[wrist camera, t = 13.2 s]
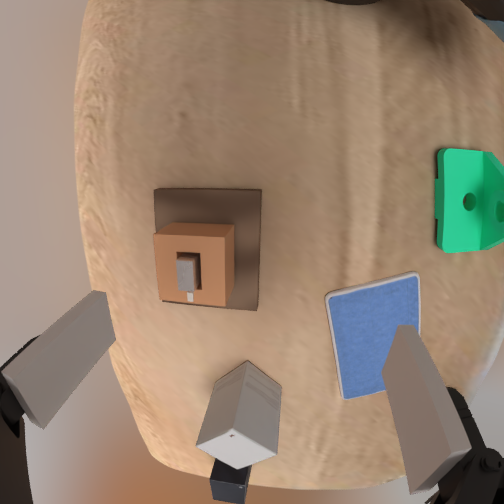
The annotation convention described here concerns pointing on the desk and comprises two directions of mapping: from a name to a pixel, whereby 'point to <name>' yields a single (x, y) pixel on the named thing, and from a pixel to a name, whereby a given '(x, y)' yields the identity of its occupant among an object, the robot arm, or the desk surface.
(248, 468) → the small box
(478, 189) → the camera mount
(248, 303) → the base
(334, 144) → the desk surface
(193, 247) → the tan square frame
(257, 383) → the supplement box
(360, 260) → the desk surface
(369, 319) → the blue felt tray
